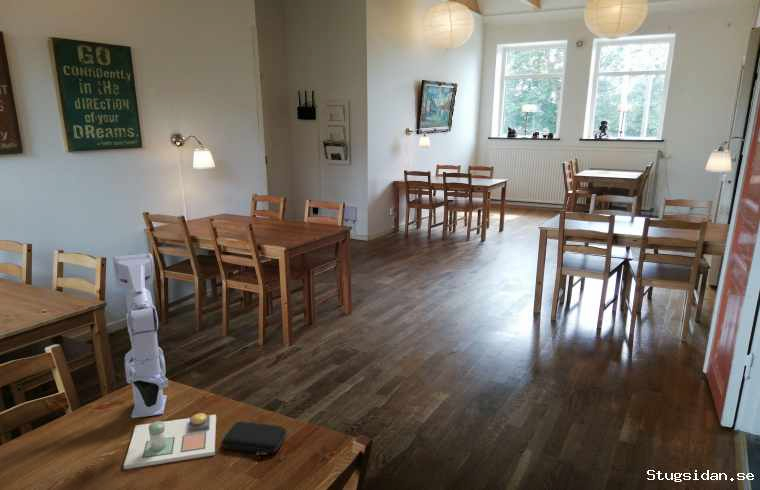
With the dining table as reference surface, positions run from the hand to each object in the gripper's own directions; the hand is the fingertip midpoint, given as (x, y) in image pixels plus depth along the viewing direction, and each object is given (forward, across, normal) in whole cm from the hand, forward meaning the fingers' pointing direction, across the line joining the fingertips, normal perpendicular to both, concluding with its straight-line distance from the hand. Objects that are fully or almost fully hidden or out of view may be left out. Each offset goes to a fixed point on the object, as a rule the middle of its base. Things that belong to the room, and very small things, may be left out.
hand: (150, 404), depth 124 cm
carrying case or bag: (+10, +22, +14) cm, 28 cm away
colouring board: (+9, +5, +2) cm, 11 cm away
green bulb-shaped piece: (+8, +6, -2) cm, 10 cm away
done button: (+8, +6, +9) cm, 14 cm away
